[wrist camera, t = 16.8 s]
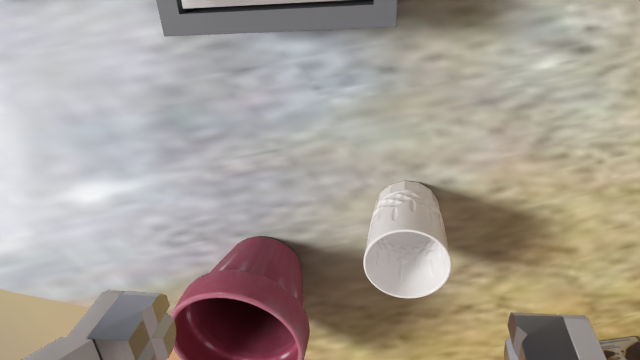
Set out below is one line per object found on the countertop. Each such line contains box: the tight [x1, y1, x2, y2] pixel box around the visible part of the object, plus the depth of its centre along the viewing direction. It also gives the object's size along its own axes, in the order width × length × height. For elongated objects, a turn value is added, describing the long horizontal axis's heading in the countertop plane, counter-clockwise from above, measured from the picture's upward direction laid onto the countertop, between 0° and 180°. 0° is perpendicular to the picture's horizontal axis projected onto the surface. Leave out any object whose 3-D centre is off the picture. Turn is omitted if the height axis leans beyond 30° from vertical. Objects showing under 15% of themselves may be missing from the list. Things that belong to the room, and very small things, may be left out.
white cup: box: [363, 181, 451, 298], centre depth 48 cm, size 8×8×10 cm
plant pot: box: [171, 237, 310, 360], centre depth 54 cm, size 14×14×13 cm
